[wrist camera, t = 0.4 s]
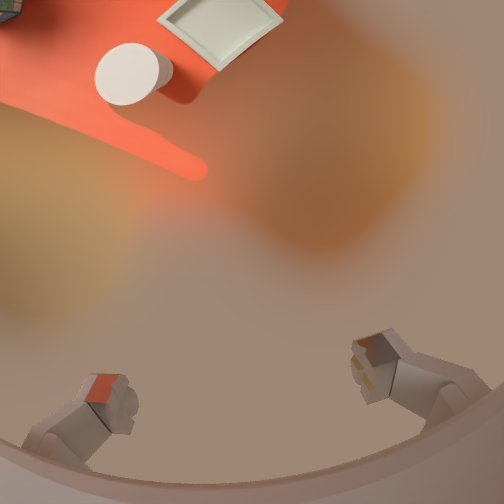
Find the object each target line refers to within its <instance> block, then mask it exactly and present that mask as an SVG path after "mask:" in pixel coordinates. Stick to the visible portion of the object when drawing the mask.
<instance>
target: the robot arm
mask: <svg viewBox="0 0 504 504" xmlns="http://www.w3.org/2000/svg"><path fill="white" fill-rule="evenodd" d="M352 351H353V353H354V356H353V357H352V358H351V369H352V374H353V377H354V379H355V382H356V383H357V384H359V385H361V393H362V395H363V397H364V399H365V401H366V403H367V405H368V404H371V403H374V402H377V401H380V400H383V399H386V398H389V397H390V399H391V400H393V401H394V402H396V403H398V404H400V405H401V406H403V407H405V408H406V409H408V410H410V411H412V412H413V413H415V414H417V415H419V416H421V417H422V418H424V419H426V420H427V421H426V423H425V425H424V427H423V430H422V431H421V433H420V434H419V435H417V436H415V437H413V438H410V439H408V440H406V441H404V442H402V443H399V444H397V445H395V446H392V447H390V448H387V449H385V450H382V451H379V452H377V453H374V454H371V455H368V456H366V457H363V458H360V459H356V460H353V461H350V462H347V463H343V464H340V465H336V466H333V467H329V468H325V469H322V470H317V471H313V472H308V473H303V474H298V475H293V476H287V477H282V478H275V479H268V480H260V481H250V482H239V483H222V484H181V483H163V482H153V481H144V480H136V479H129V478H122V477H117V476H111V475H106V474H102V473H97V472H93V471H92V469H91V468H90V467H89V466H88V465H86V464H85V462H86V461H87V460H88V459H89V458H90V457H91V456H92V454H94V453H95V451H97V449H98V448H99V447H100V446H101V445H102V444H103V443H104V442H105V441H106V440H107V439H108V438H109V437H110V436H111V435H112V434H111V433H113V434H128V435H130V434H131V430H132V427H133V424H134V420H133V418H132V417H133V416H134V415H135V414H136V413H137V411H138V407H139V405H138V397H137V394H136V393H135V391H134V390H133V389H132V388H130V387H129V386H128V384H129V381H128V379H127V378H126V376H125V375H123V374H95V373H91V374H89V375H88V376H87V378H86V379H85V381H84V383H83V385H82V387H81V388H80V390H79V392H78V393H77V396H76V397H75V399H74V401H72V400H71V401H69V402H68V403H66V404H65V405H64V406H62V407H60V408H59V409H58V410H56V411H55V412H54V413H52V414H50V415H49V416H47V417H46V418H44V419H43V420H42V421H40V422H38V423H37V424H36V425H34V426H33V427H32V428H31V430H30V432H29V434H28V435H27V437H26V439H25V441H24V443H23V445H22V447H21V448H20V447H18V446H16V445H13V444H11V443H9V442H7V441H5V440H3V439H1V438H0V504H504V382H503V383H502V384H500V385H499V386H498V387H496V388H495V389H494V390H491V389H490V388H489V387H488V386H487V385H486V384H485V382H484V381H483V380H482V379H481V378H480V377H479V376H478V375H477V374H476V373H475V371H474V370H472V369H469V368H466V367H463V366H459V365H456V364H453V363H450V362H447V361H444V360H441V359H438V358H434V357H431V356H428V355H425V354H422V353H419V352H418V353H414V352H413V351H412V349H411V348H410V347H409V346H408V345H407V343H406V342H405V341H404V340H403V339H402V338H401V336H400V335H399V334H398V333H397V332H396V331H395V330H394V329H392V328H390V329H387V330H384V331H381V332H379V333H376V334H372V335H370V336H366V337H363V338H359V339H356V340H353V342H352Z"/></svg>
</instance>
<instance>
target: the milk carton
mask: <svg viewBox="0 0 504 504" xmlns="http://www.w3.org/2000/svg"><path fill="white" fill-rule="evenodd" d="M22 2H23V0H0V23H2V22H4V21H6V20H8V19H10V18H12V17H14V16H16V15H18V14H20V12H21V7H22Z"/></svg>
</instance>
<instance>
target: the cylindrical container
mask: <svg viewBox="0 0 504 504" xmlns="http://www.w3.org/2000/svg"><path fill="white" fill-rule="evenodd" d="M173 70H174V69H173V64H172V62H171V61H170V59H168V58H167V57H166V56H164V55H162V54H160V53H158V52H156V51H154V50H152V49H150V48H148V47H146V46H144V45H141V44H137V43H126V44H122V45H119V46H117V47H115V48H113V49H112V50H110V51H109V52H108V53H107V54H106V55H105V56H104V57H103V58H102V59H101V61H100V62H99V64H98V66H97V69H96V73H95V84H96V88H97V90H98V92H99V94H100V95H101V96H102V97H103V98H104V99H105V100H106V101H108V102H110V103H113V104H116V105H128V104H132V103H134V102H137V101H139V100H141V99H142V98H144V97H146V96H147V95H149V94H150V93H152V92H154V91H156V90H157V89H159V88H161V87H162V86H164V85H166V84H167V83H168V82H169V81H170V79H171V78H172V75H173Z"/></svg>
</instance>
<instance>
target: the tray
mask: <svg viewBox="0 0 504 504" xmlns="http://www.w3.org/2000/svg"><path fill="white" fill-rule="evenodd" d="M156 21H157V22H158V23H159V24H161V25H162V26H163V27H165V28H166V29H167V30H169V31H170V32H171V33H173V34H174V35H175V36H176V37H178V38H179V39H180V40H181V41H183V42H184V43H185V44H186V45H188V46H189V47H190V48H191V49H192V50H194V51H195V52H196V53H197V54H198V55H200V56H201V57H202V58H203V59H204V60H205V61H207V62H208V63H209V64H210V65H211V66H212V67H213V68H214V69H216V70H217V71H218V72H220V71H221V70H222V69H223V68H224V67H225V66H227V65H228V64H229V63H230V62H231V61H232V60H234V59H235V58H236V57H237V56H238V55H240V54H241V53H242V52H243V51H244V50H246V49H247V48H248V47H249V46H251V45H252V44H253V43H254V42H256V41H257V40H258V39H260V38H261V37H262V36H264V35H265V34H266V33H268V32H269V31H270V30H272V29H273V28H275V27H276V26H277V25H279V24H280V23H282V22H283V21H284V20H283V19H282V18H281V17H280V16H279V15H278V14H277V13H276V12H275V11H274V10H273V9H272V8H271V7H270V6H269V5H268V4H267V3H266V2H265V1H264V0H179V1H178V2H176V3H175V4H174V5H173V6H172V7H170V8H169V9H168V10H167V11H166V12H165V13H164V14H162V15H161V16H160V17H159V18H158V19H157V20H156Z"/></svg>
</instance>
